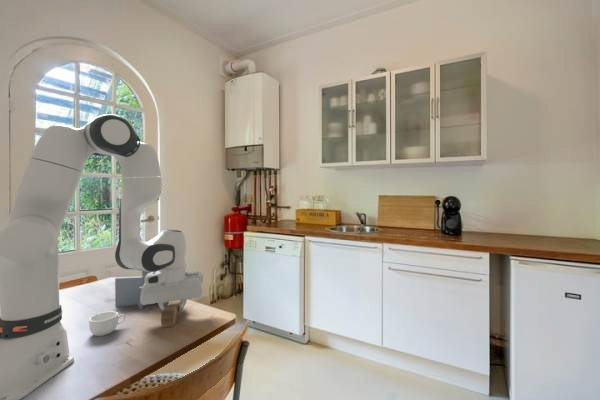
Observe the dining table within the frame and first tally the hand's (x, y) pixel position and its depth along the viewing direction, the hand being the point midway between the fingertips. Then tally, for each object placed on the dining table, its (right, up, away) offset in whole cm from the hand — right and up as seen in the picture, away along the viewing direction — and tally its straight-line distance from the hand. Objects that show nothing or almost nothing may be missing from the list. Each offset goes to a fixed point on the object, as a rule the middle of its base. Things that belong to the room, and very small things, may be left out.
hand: (172, 312), depth 101 cm
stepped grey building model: (-18, -2, +11) cm, 21 cm away
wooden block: (0, -2, 0) cm, 2 cm away
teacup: (-17, -3, -10) cm, 19 cm away
